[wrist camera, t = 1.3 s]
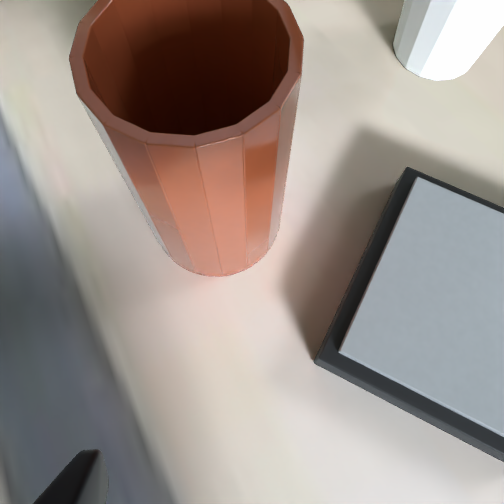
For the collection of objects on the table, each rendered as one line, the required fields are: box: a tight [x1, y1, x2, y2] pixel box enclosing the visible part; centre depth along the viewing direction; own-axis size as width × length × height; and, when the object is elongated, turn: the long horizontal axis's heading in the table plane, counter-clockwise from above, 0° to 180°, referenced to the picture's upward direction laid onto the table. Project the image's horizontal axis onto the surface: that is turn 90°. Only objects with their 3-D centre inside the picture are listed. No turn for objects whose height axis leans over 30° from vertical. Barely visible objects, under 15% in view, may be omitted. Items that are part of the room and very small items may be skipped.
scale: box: [314, 167, 504, 462], centre depth 23 cm, size 12×11×2 cm
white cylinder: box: [393, 0, 504, 81], centre depth 27 cm, size 7×7×7 cm
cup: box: [69, 0, 304, 276], centre depth 20 cm, size 7×7×13 cm
